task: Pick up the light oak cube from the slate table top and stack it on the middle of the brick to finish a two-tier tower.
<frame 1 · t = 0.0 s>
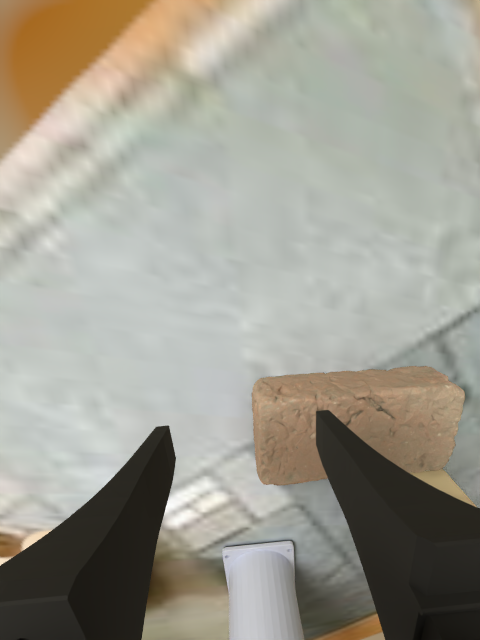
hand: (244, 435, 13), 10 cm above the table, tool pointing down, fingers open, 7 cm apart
brick: (338, 404, 25), on the table
oak cube: (415, 488, 29), on the table
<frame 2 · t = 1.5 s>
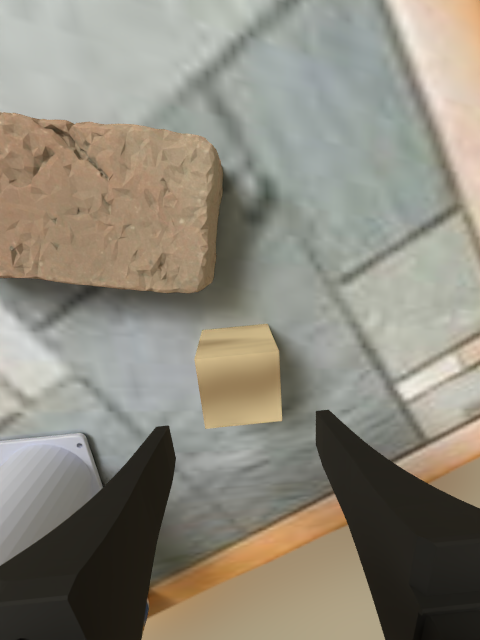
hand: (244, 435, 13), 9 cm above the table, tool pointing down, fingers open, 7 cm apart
brick: (96, 211, 18), on the table
oak cube: (237, 356, 21), on the table
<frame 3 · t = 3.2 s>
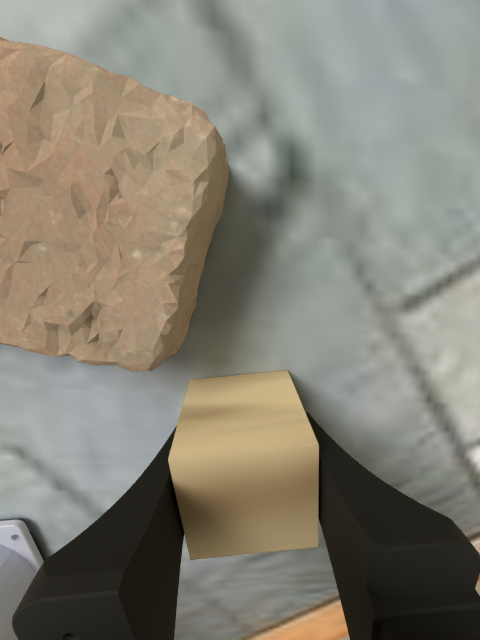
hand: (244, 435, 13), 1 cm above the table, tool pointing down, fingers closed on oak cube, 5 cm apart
brick: (18, 198, 11), on the table
oak cube: (242, 415, 14), on the table, touching gripper
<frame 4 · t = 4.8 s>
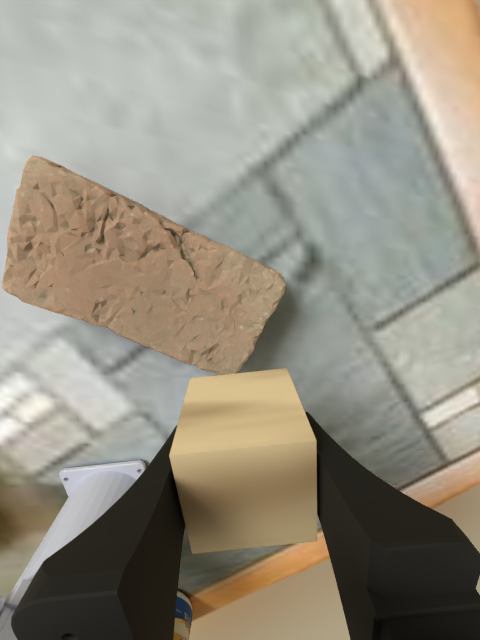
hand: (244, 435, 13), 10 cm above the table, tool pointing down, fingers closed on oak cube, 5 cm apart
brick: (165, 274, 21), on the table
oak cube: (243, 413, 15), point 8 cm above the table, touching gripper
beverage bottle: (160, 602, 33), on the table
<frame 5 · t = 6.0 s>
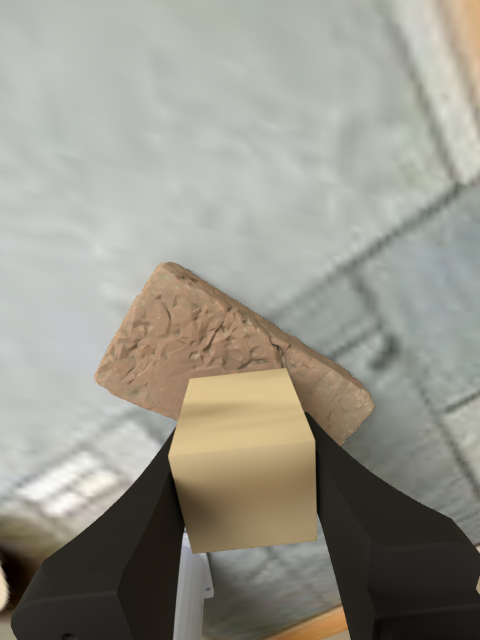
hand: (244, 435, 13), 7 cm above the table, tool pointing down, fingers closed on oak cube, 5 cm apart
brick: (241, 359, 21), on the table
oak cube: (242, 413, 15), point 6 cm above the table, touching gripper
when the fingers open (7 cm above the table, at t = 6.7 s): oak cube drops 2 cm, resting on brick.
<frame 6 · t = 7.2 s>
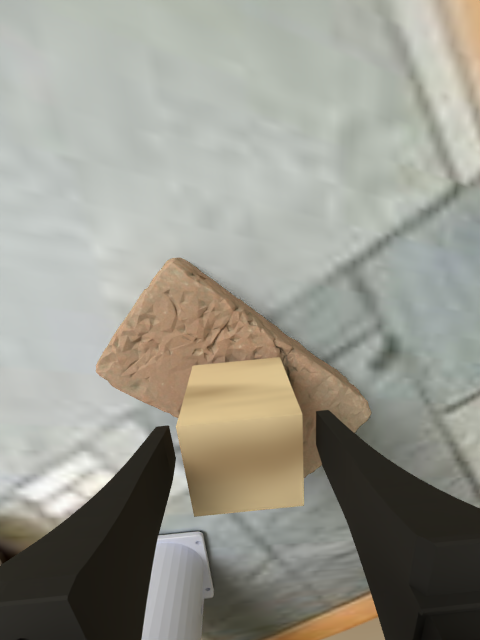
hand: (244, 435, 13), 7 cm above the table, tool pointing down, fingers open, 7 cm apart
brick: (241, 359, 21), on the table, touching oak cube
oak cube: (240, 398, 16), point 4 cm above the table, touching brick
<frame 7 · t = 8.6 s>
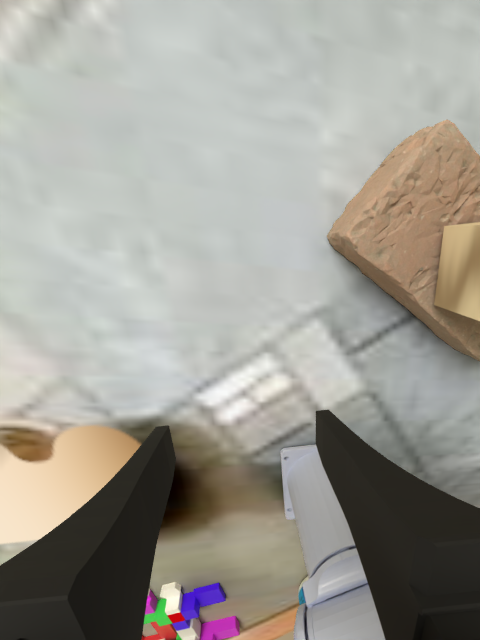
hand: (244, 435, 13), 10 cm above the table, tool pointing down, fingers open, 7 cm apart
brick: (426, 257, 22), on the table, touching oak cube
oak cube: (477, 262, 17), point 4 cm above the table, touching brick
building block set: (137, 612, 35), on the table
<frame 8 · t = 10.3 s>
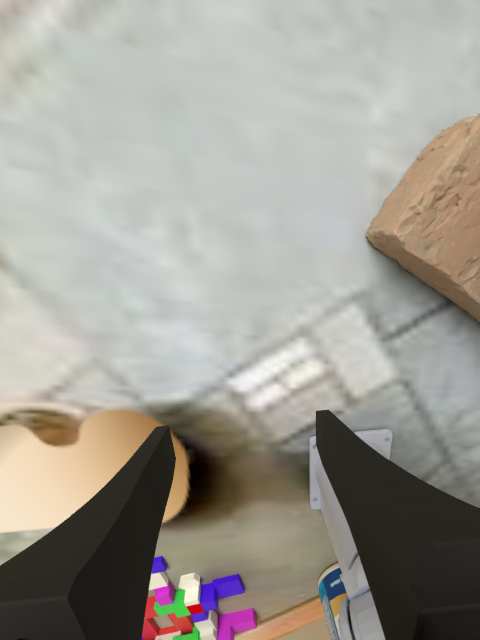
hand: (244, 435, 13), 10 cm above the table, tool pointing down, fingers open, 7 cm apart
brick: (466, 245, 21), on the table, touching oak cube
building block set: (152, 604, 35), on the table
beverage bottle: (348, 576, 34), on the table
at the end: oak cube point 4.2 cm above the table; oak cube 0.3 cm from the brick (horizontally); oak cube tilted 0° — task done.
